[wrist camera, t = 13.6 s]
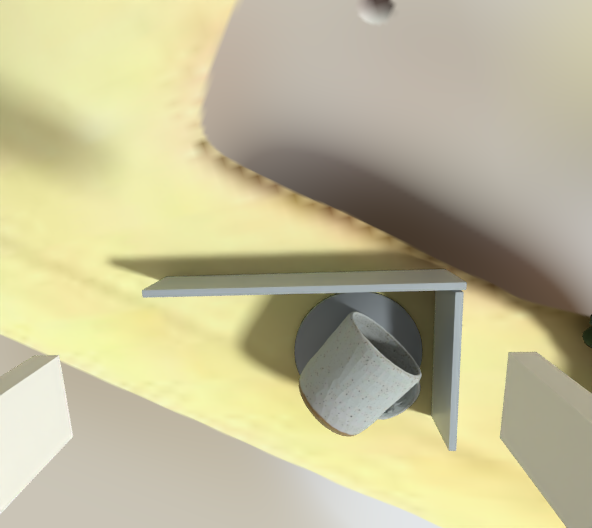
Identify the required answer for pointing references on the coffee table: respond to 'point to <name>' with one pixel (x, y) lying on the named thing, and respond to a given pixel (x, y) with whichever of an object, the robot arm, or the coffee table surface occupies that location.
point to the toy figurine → (588, 334)
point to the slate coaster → (337, 309)
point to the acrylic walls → (360, 281)
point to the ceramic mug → (359, 377)
